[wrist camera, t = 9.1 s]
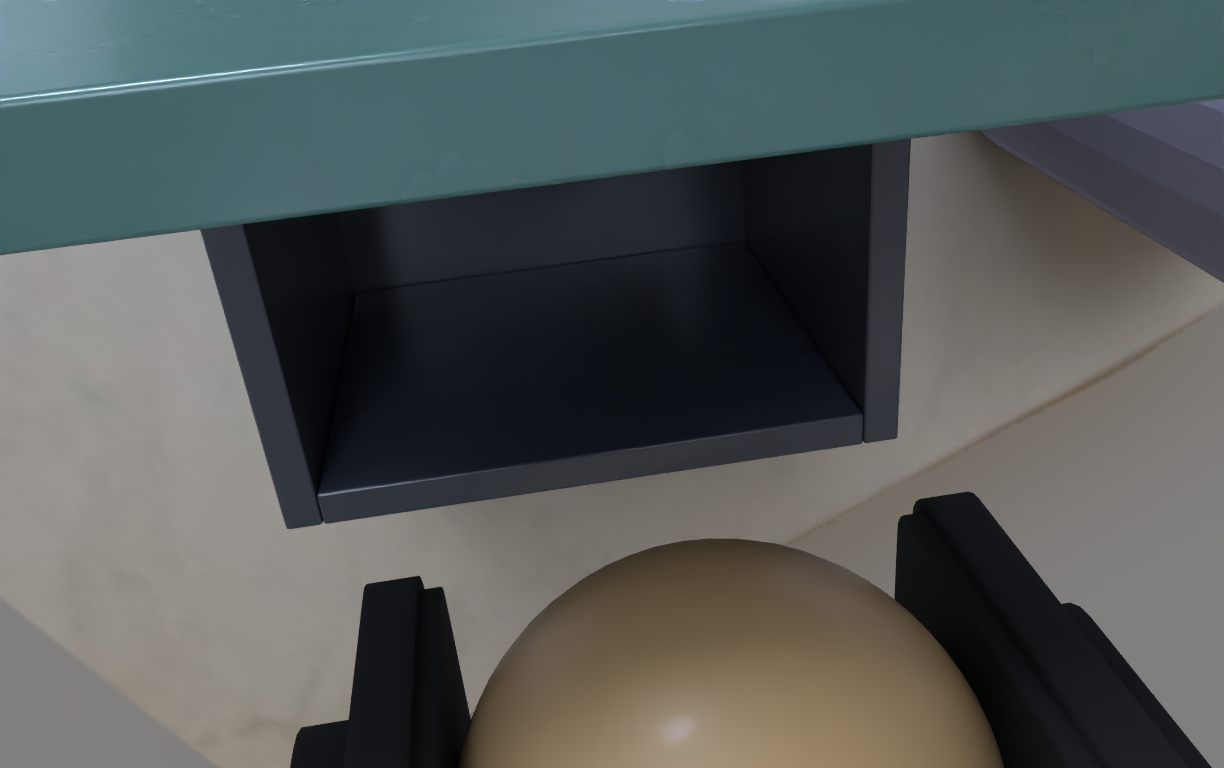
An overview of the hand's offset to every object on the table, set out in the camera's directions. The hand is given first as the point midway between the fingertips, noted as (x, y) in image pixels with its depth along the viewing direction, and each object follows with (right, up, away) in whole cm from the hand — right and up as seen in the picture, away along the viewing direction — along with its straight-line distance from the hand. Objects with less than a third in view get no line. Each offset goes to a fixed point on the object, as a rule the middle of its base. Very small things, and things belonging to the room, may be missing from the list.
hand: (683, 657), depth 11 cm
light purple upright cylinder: (+14, +15, +21) cm, 29 cm away
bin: (-3, +12, +20) cm, 23 cm away
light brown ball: (0, -1, -2) cm, 2 cm away
